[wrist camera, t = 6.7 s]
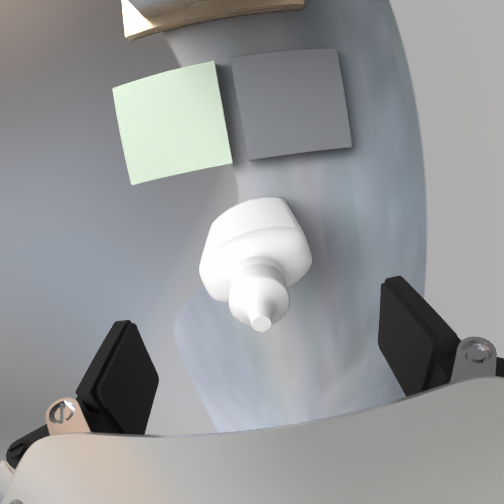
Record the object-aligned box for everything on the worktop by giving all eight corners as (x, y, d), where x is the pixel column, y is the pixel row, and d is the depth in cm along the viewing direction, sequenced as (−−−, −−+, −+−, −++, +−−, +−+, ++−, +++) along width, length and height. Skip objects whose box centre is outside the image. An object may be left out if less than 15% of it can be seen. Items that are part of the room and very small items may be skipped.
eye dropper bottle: (215, 188, 21) (184, 258, 10) (295, 198, 21) (353, 277, 10) (208, 247, 22) (181, 360, 11) (284, 256, 23) (320, 371, 12)
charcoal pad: (230, 61, 17) (229, 57, 16) (331, 51, 17) (335, 48, 16) (247, 159, 20) (248, 160, 19) (347, 146, 20) (351, 147, 19)
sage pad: (117, 89, 18) (112, 88, 17) (215, 64, 17) (213, 60, 16) (136, 182, 20) (131, 185, 19) (233, 161, 20) (232, 163, 19)
